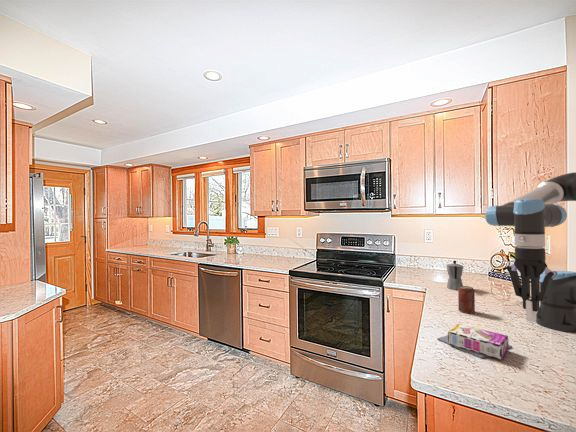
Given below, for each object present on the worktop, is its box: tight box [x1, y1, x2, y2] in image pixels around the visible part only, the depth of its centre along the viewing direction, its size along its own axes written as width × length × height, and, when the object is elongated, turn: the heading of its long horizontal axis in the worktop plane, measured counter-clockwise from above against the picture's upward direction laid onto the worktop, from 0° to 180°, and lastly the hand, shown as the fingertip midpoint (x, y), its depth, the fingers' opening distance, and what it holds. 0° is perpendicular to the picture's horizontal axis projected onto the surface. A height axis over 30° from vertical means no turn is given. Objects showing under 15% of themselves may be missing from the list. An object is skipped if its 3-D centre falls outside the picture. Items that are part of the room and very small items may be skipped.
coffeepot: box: [446, 260, 464, 291], centre depth 185 cm, size 15×9×18 cm, turn 153°
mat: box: [436, 334, 513, 359], centre depth 108 cm, size 18×16×1 cm
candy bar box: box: [447, 323, 509, 360], centre depth 104 cm, size 11×5×16 cm
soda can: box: [457, 285, 476, 315], centre depth 143 cm, size 7×7×12 cm
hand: (531, 320), depth 93 cm, fingers closed
